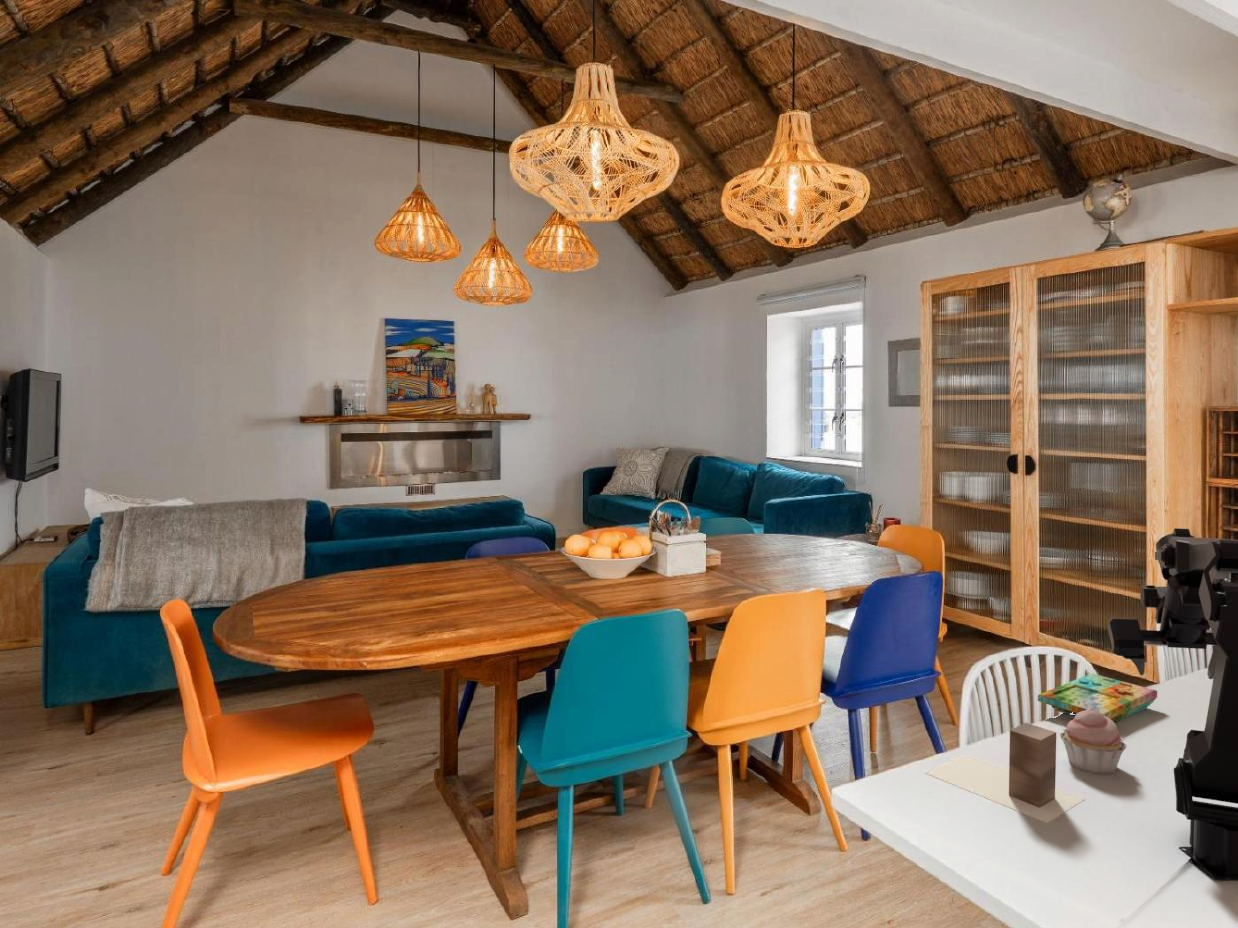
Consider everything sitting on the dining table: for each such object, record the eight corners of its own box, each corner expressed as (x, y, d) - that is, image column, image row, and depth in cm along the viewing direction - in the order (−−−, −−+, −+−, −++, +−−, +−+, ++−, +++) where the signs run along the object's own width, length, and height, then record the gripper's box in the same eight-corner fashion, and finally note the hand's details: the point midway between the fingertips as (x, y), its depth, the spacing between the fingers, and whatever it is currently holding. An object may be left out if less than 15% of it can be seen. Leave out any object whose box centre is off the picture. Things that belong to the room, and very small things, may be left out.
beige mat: (1085, 802, 116) (1085, 798, 116) (1047, 827, 110) (1047, 822, 110) (963, 757, 131) (964, 753, 131) (924, 776, 125) (924, 772, 125)
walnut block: (1055, 798, 116) (1056, 732, 115) (1039, 807, 114) (1040, 740, 113) (1024, 786, 120) (1025, 722, 119) (1008, 795, 117) (1009, 730, 117)
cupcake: (1125, 762, 128) (1126, 702, 128) (1127, 786, 120) (1129, 722, 120) (1059, 750, 133) (1060, 692, 132) (1057, 773, 125) (1059, 712, 124)
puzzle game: (1157, 686, 150) (1103, 709, 139) (1156, 710, 150) (1102, 735, 140) (1093, 669, 160) (1038, 690, 149) (1092, 691, 160) (1037, 714, 149)
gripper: (1247, 569, 120) (1231, 639, 129) (1105, 567, 128) (1099, 634, 136) (1271, 623, 112) (1252, 694, 120) (1118, 618, 119) (1110, 686, 128)
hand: (1174, 674), depth 126 cm, fingers open, 9 cm apart
